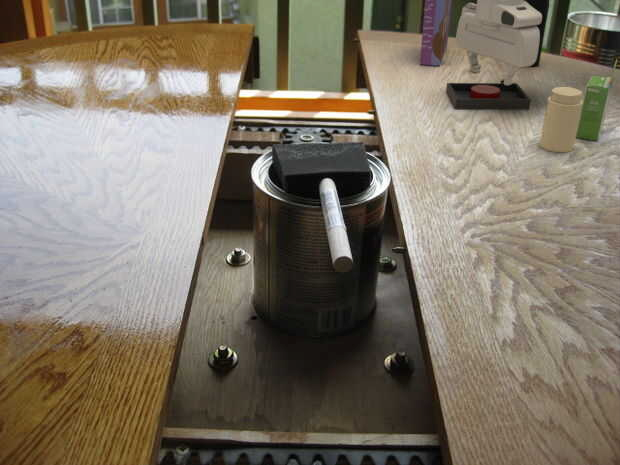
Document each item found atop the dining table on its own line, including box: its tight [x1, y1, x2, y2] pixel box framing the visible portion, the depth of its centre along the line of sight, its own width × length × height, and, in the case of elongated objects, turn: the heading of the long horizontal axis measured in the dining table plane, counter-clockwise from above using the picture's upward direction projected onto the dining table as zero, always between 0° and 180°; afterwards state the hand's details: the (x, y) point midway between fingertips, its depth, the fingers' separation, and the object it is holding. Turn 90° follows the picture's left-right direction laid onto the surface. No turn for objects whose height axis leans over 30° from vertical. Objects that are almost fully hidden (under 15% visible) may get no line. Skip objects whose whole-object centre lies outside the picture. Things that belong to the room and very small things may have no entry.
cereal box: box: [419, 0, 453, 67], centre depth 164 cm, size 17×5×24 cm, turn 164°
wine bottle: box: [524, 0, 550, 68], centre depth 157 cm, size 6×6×30 cm
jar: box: [539, 86, 583, 153], centre depth 115 cm, size 6×6×10 cm
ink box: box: [576, 58, 618, 141], centre depth 119 cm, size 7×4×13 cm, turn 152°
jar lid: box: [470, 85, 500, 99], centre depth 139 cm, size 6×6×2 cm
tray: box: [445, 82, 532, 110], centre depth 139 cm, size 15×11×2 cm
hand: (489, 78), depth 137 cm, fingers open, 8 cm apart
